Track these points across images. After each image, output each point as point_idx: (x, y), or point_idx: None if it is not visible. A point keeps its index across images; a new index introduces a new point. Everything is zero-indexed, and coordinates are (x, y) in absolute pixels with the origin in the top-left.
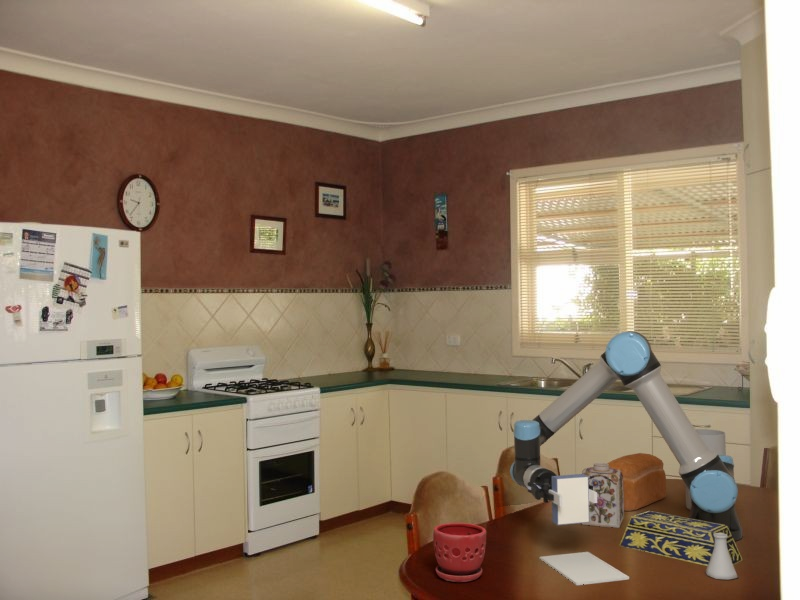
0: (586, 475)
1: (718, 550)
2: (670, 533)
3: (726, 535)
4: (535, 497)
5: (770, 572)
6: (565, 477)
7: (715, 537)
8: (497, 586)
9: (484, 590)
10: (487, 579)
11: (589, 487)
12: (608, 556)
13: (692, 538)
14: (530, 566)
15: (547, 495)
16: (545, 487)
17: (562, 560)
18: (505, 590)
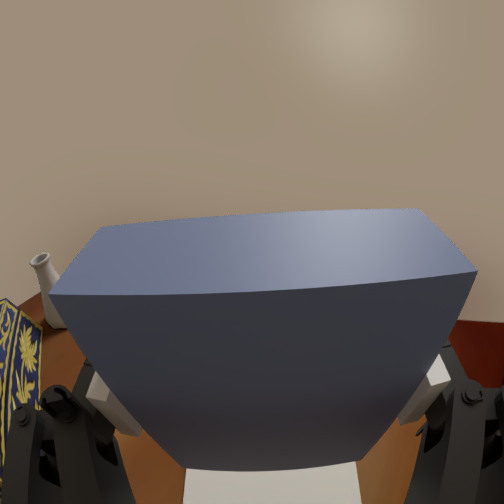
0: (89, 243)
1: (58, 275)
2: (5, 377)
3: (38, 254)
4: (497, 438)
5: (22, 303)
6: (332, 217)
7: (47, 260)
8: (470, 346)
9: (485, 331)
10: (490, 377)
11: (41, 418)
12: (140, 484)
13: (11, 339)
14: (404, 461)
15: (446, 348)
16: (462, 491)
17: (304, 479)
18: (456, 329)
